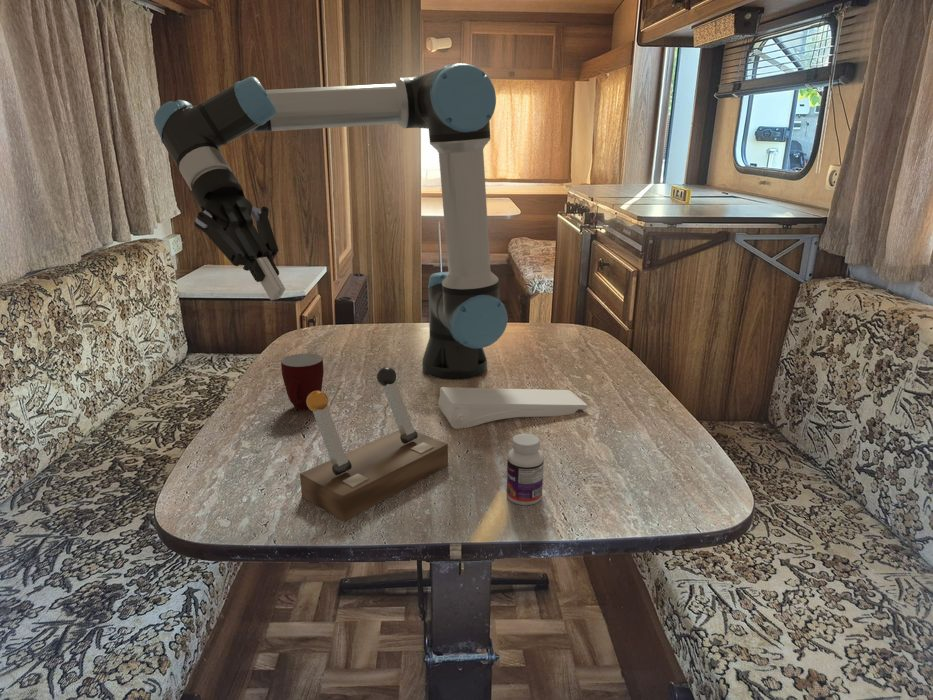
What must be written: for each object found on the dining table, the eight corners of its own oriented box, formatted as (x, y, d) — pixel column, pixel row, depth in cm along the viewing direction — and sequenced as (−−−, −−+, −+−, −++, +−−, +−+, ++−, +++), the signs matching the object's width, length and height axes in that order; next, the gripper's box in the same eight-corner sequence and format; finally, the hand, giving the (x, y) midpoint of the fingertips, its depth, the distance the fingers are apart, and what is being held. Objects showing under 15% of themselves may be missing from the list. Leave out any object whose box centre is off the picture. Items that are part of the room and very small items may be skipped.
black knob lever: (397, 446, 109) (370, 372, 109) (411, 439, 111) (384, 367, 111) (409, 442, 107) (381, 367, 107) (423, 436, 109) (396, 362, 109)
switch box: (301, 497, 101) (299, 472, 99) (405, 447, 116) (405, 426, 115) (344, 521, 94) (342, 495, 93) (448, 465, 110) (447, 442, 109)
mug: (319, 420, 127) (315, 371, 124) (277, 420, 127) (272, 371, 124) (329, 399, 137) (326, 353, 134) (290, 399, 137) (286, 353, 134)
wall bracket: (563, 423, 141) (436, 423, 132) (565, 389, 140) (438, 386, 131) (586, 431, 131) (450, 431, 122) (589, 394, 131) (453, 392, 122)
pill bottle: (504, 488, 103) (505, 431, 100) (538, 487, 104) (540, 430, 101) (509, 507, 98) (510, 447, 95) (545, 505, 99) (547, 446, 96)
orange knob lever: (329, 477, 99) (299, 396, 99) (346, 469, 101) (316, 390, 101) (341, 474, 96) (310, 391, 97) (357, 466, 99) (327, 385, 99)
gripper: (240, 194, 118) (303, 300, 113) (168, 199, 109) (233, 315, 104) (254, 165, 113) (320, 274, 108) (180, 167, 104) (249, 287, 99)
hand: (278, 294), depth 106 cm, fingers closed
